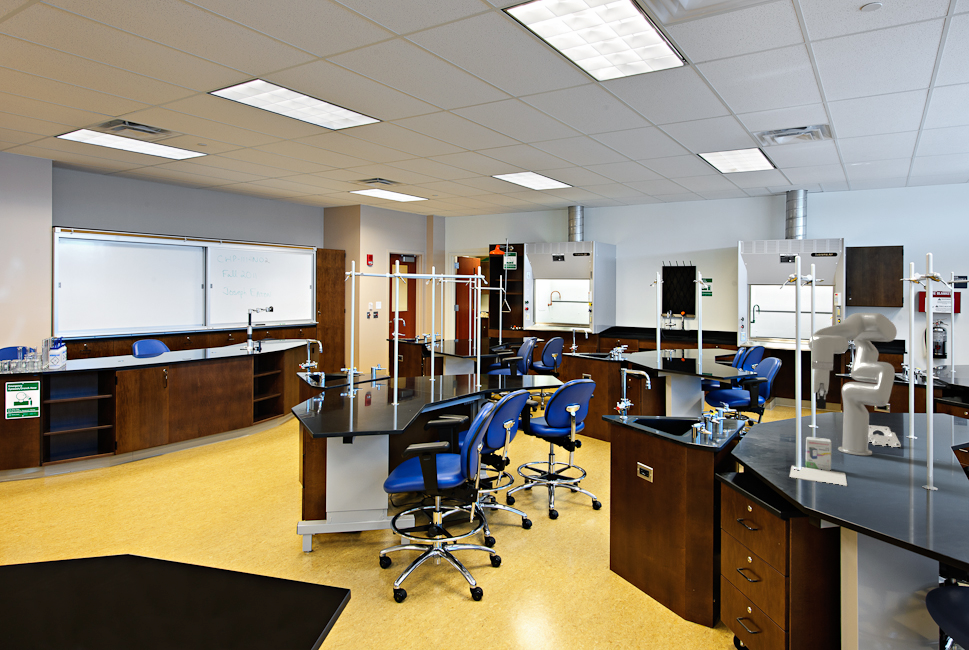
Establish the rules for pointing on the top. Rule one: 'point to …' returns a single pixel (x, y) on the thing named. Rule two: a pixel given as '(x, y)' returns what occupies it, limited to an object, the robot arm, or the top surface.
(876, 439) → the mounting bracket
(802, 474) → the bench mat
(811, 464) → the ink box
